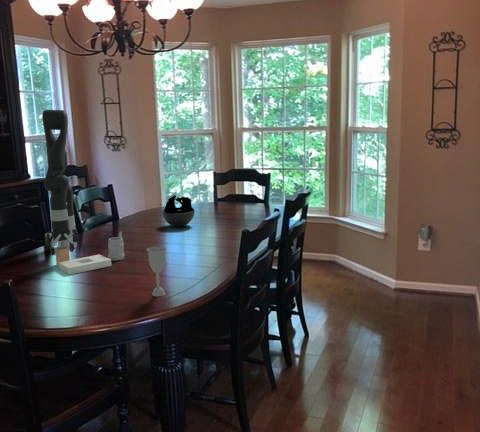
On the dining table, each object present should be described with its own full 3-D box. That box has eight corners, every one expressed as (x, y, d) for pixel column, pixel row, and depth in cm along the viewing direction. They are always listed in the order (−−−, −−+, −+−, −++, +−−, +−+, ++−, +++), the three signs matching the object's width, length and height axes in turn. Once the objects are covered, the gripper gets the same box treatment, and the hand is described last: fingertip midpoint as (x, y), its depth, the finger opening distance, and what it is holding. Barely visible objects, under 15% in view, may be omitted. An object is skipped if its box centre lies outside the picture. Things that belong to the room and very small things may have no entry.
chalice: (168, 290, 201) (167, 246, 198) (167, 296, 195) (165, 251, 191) (150, 291, 201) (147, 246, 198) (147, 297, 195) (145, 251, 191)
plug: (56, 264, 240) (55, 246, 238) (66, 262, 243) (64, 245, 241) (60, 266, 236) (58, 248, 235) (70, 264, 239) (68, 247, 237)
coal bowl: (193, 229, 308) (192, 199, 305) (160, 230, 309) (158, 199, 305) (196, 223, 328) (195, 193, 324) (165, 223, 328) (164, 194, 325)
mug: (105, 260, 246) (104, 236, 243) (116, 253, 257) (114, 230, 255) (120, 261, 244) (119, 236, 242) (130, 254, 256) (129, 231, 253)
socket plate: (58, 268, 233) (58, 262, 232) (100, 260, 246) (99, 254, 245) (69, 274, 224) (68, 268, 223) (111, 265, 237) (111, 259, 236)
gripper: (71, 215, 242) (74, 249, 245) (41, 219, 233) (44, 254, 236) (77, 217, 237) (80, 252, 240) (47, 222, 228) (50, 257, 231)
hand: (62, 253), depth 238 cm, fingers open, 8 cm apart
